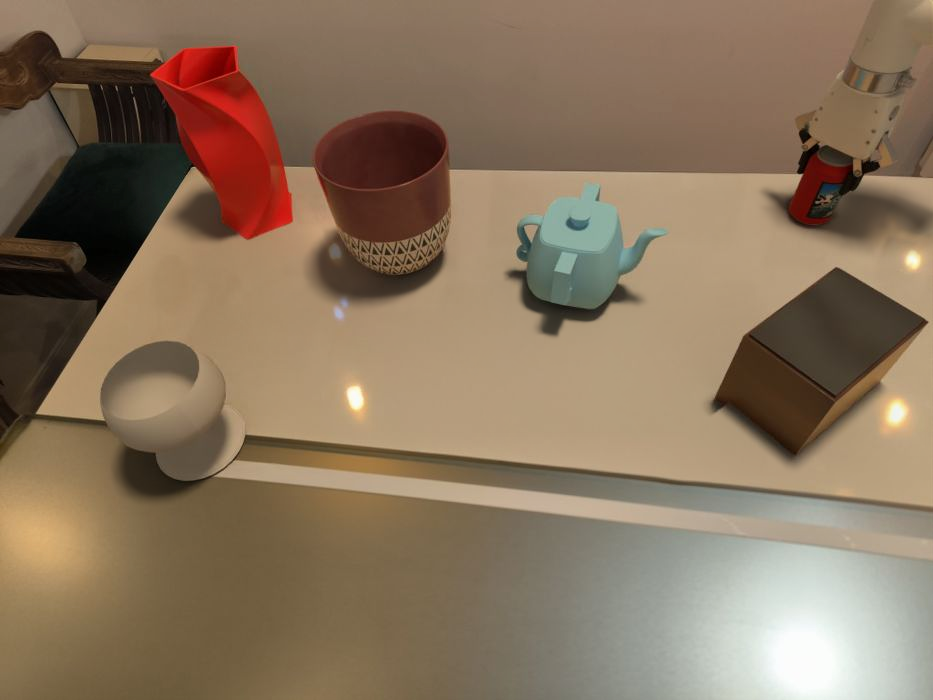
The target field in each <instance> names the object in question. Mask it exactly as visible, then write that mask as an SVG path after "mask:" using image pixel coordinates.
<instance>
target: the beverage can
mask: <svg viewBox="0 0 933 700" xmlns="http://www.w3.org/2000/svg"><path fill="white" fill-rule="evenodd" d="M852 171H853V157H852V156H849V155H847V154H845V153H843V152H841V151H839V150H837V149H834V148H832V147H830V146H828V145H826V144H824V145H822V146H820V148H819V150H818V151H817V152H815V153H814V154H813V155H812V156H811V157H810V159H809V161H808V164H807V166H806V168H805V170H804V173H803V174H801V177H800V179H799V182H798V184H797V187H796V189H795V191H794V194H793V197H792V199H791V201H790V204H789V207H788V212H789V214H790V215H791V217H792V218H794V219H795V220H797V221H798V222H800V223H801V224H804V225H811V226H816V225H817V226H818V225H824V224H826V223H827V222H829V221H830V220H831V219H832V218H833V215H834V213H835V211H836V210H837V208H838V206H839V204H840V202H841V200H842V198H843V196H841V195H839V191H840V189H841V187H842V185H843V183H844V181H845V179H846V177H847V175H848V174H849V173H850V172H852Z"/></svg>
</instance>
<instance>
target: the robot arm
mask: <svg viewBox="0 0 933 700" xmlns="http://www.w3.org/2000/svg"><path fill="white" fill-rule="evenodd" d="M922 46H927V47H930V48H933V0H873V1H872V2H871V5H870V7H869V10H868V12H867V15H866V17H865V19H864V22H863V24H862V26H861V29H860V32H859V34H858V36H857V38H856V41H855V43H854V45H853V48H852V51H851V53H850V55H849V57H848V60H847V61H846V65H845V67H844V69H843V70H841V71H840V72H839V73H838V74H837V75H836V76H835V78H834V79H833V80H832V82H831V84H830V85H829V87H828V89H827V90H826V92H825V93H824V95H823V97H822V99H821V100H820V103H819V105H818V106H817V108H816V109H813V110H810V111H808V112H805V113H801V114H800V115H798V116H797V117H795V119H794V121H795V124H796V127H797V130H798V136H799V139H800V142H801V144H802V145H801V150H802V153H801V155H800V158H799V160H798V163H797V165H798V168H797V171H796V174H797V175H803V173H804V170H805V168H806V166H807V164H808V161H809V159H810V157H811V156H812V155H813V154H814V153H815V152H817V151H818V150H819V148H821V145H819V144H820V143H821V144H824V145H828V146H830V147H832V148H834V149H837V150H839V151H841V152H843V153H845V154H847V155H849V156H852V157H853V171H852V172H850V173H849V174H848V175H847V177H846V179H845V181H844V183H843V185H842V187H841V189H840V191H839V195H841V196H842V197H844V196H846V195H847V194H848V193H849V192H854V191H856V190H857V189H858V187H859V186H860V184H861V182H862V180H863V178H864V176H865V175H866V174H868V173H869V174H870V173H874V172H876V171H878V170H880V169H884V168H886V167H889V166H892V165H893V164H895V163H896V162H898V155H897V154H896V151H895V148H894V147H893V145H892V141H890V137H891V135H892V132H893V130H894V129H895V125H896V123H897V121H898V118H899V115H900V113H901V110H902V107H903V104H904V101H905V97H906V92H907V89H909V90H910V89H912V88H913V87H914V86H915V84H916V82H917V78H916V77H913V76H912V75H911V71H912V69H913V66H912V65H913V63H914V62H915V60H916V58H917V56H918V55H919V52H920V50H921V48H922ZM875 151H878V153H879V155H880V157H881V158H877V159H875V160H873V153H874V152H875Z"/></svg>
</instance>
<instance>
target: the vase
mask: <svg viewBox="0 0 933 700" xmlns="http://www.w3.org/2000/svg"><path fill="white" fill-rule="evenodd" d="M149 76H150V77H151V79H152V80H153V82H154V83H155V85H156V86H157V87H158V90H159V91H160V92H161V94H162V96H163V97H164V99H165V100H166V102H167V103H168V105H169V107H170V108H171V110H172V111H173V113H174V115H175V122H176V127H177V132H178V136H179V139H180V143H181V146H182V148H183V150H184V152H185V154H186V156H187V157H188V159H189V161H190V162H191V164H192V165H193V166H194V167H195V169H196V170H197V171H198V172H199V173H200V175H201V176H202V177H203V178H204V180H205V181H206V182H207V184H208V185H209V186H210V188H211V190H212V191H213V193H214V195H215V196H216V198H217V201H218V203H219V206H220V212H221V217H220V222H221V223H223V224H224V225H226V226H227V227H229V228H230V229H232V230H233V231H234V232H236V233H237V234H238V235H239V236H241V237H243V238H244V239H245V240H250V239H253V238H255V237H257V236H260V235H263V234H265V233H268V232H271V231H273V230H275V229H278V228H281V227H283V226H287V225H288V224H290V223H293V221H294V219H293V218H294V217H293V199H292V193H291V192H290V191H289V184H288V179H287V174H286V169H285V164H284V160H283V156H282V152H281V147H280V143H279V141H278V137H277V134H276V131H275V127H274V125H273V122H272V120H271V117H270V114H269V113H268V110H267V108H266V106H265V104H264V102H263V100H262V98H261V96H260V94H259V93H258V92H257V89H256V88H255V87H254V85H253V84H252V83H251V81H250V80H249V79H248V78H247V77H246V75H244V73H243V72H242V70H241V68H240V66H239V62H238V46H237V45H228V46H227V45H226V46H224V45H223V46H222V45H221V46H203V47H202V46H199V47H184V48H183V49H181V50H180V51H179V52H177V53H176V54H175V55H174V56H172V57H171V58H169V59H167V60H166V62H164V63H163V64H162V65H160V66H159V67H158V68H157V69H155V70H154V71H152V72H151V73H150V74H149Z"/></svg>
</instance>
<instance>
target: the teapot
mask: <svg viewBox="0 0 933 700" xmlns="http://www.w3.org/2000/svg"><path fill="white" fill-rule="evenodd" d="M600 198H601V184H596V183H590V182H586V183H585V185H584V188H583V191H582V193H581V196H580V197H573V196H572V197H571V196H561V197H558V198H556V199H554V200H553V202H552V203H551V204H550V206H549V207H548V209H547V210H546V212H545V214H544V216H543V215H541V214H527V215H525V216H524V217H522V218H520V220H519V221H518V223H517V226H516V234H517V237H518V240H519V242H520V245H519V246H518V247H517V249H516V252H515V253H516V257H517V258H518V259H519V260H520V261H521V262H523V263H526V282H527V285H528V288H529V290H530V291H531V292H532V294H533V295H534V296H535V297H536V298H538V299H540V301H546V302H550V303H553V304H558V305H561V306H569V307H573V308H579V309H586V310H591V311H592V310H596V309H597V308H599V307H600V306H602V304H604V303H605V302H606V301H607V300H608V299H609V297H610V296H611V295H612V293H613V292H614V290H615V289H616V286H617V285H618V282H619V280H620V278H621V276H624V275H628V274H629V273H631V272H633V271H634V270H635V269H636V268H638V266H639V265H640V263H641V261H642V259H643V257H644V255H645V252H646V250H647V248H648V246H649V245H650V244H651V242H652V241H654V240H655V239H657V238H660V237H664V236H666V235H667V234H669V232H670V231H669V230H668V229H666V228H661V227H653V228H648V229H646V230H644V231H642V232H641V233H640V234H639V236H638V237H637V239H636V240H635V243H634V244H633V245H632V246H631V247H627V248H624V237H623V236H624V235H623V230H622V229H623V228H622V224H621V221H620V217H619V216H620V215H619V214H618V210H617V208H616V207H615V206H614V205H612V204H610V203H607V202H605V201H604V202H603V201H600ZM531 225H532V226H537V229H536V231H535V232H534V234H533V235H534V236H533V238H532V241H531V239H530V238H529V237H528V234H527V232H526V229H525V227H526V226H531Z"/></svg>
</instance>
